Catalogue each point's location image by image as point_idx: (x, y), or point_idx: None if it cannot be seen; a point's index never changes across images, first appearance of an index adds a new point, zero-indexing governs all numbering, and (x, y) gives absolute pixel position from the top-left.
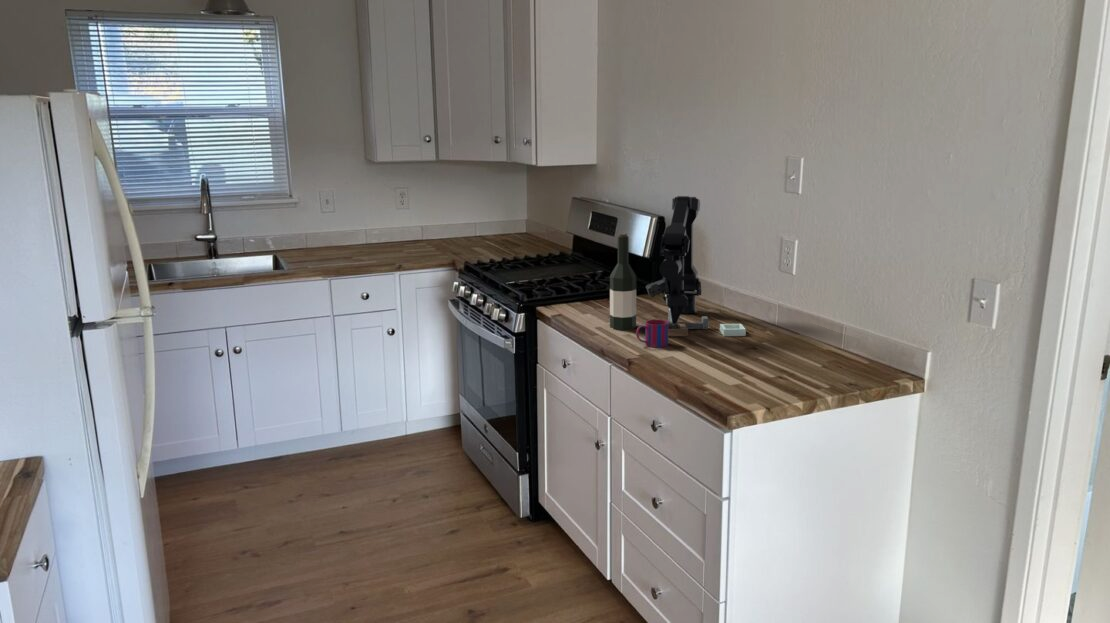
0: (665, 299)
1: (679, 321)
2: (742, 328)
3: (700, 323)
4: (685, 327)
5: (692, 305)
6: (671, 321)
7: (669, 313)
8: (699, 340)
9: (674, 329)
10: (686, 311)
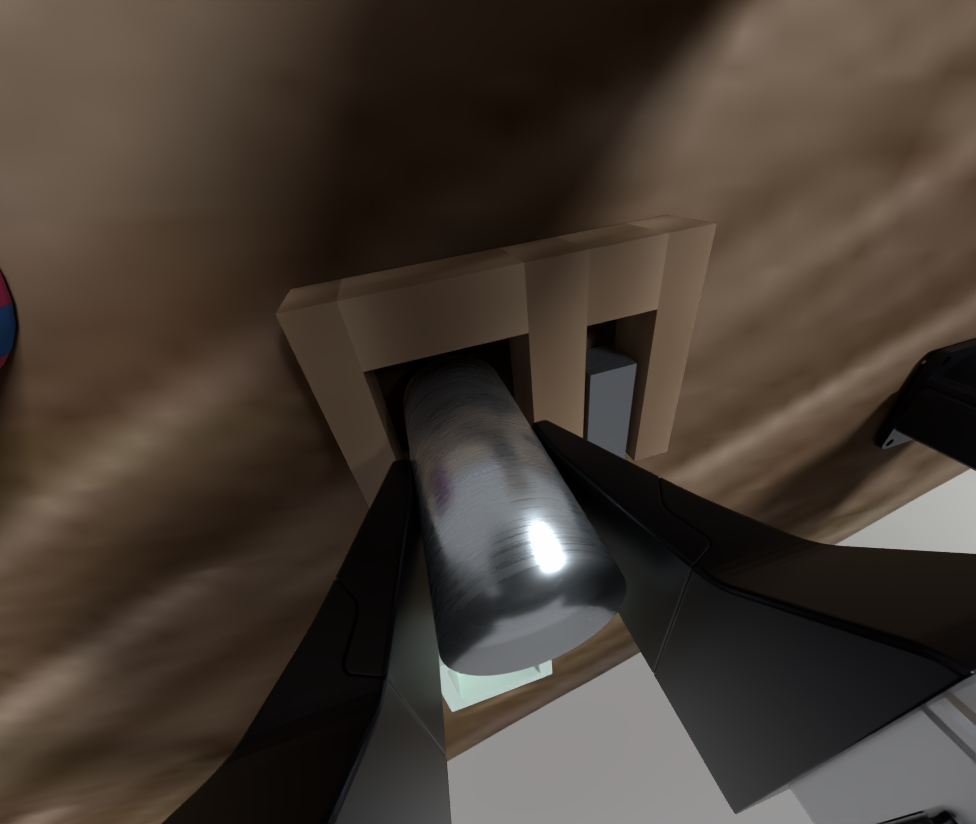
0: (877, 677)
1: (653, 431)
2: (464, 702)
3: None
4: None
5: (948, 453)
6: (417, 457)
7: (458, 514)
8: (279, 573)
9: (358, 444)
10: (917, 404)
